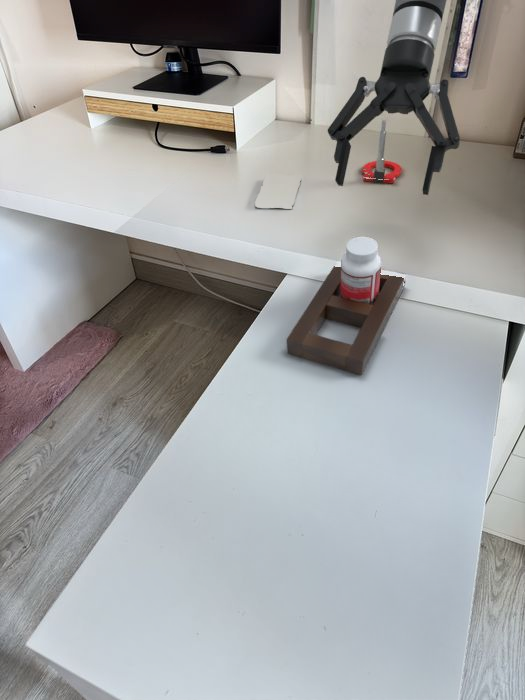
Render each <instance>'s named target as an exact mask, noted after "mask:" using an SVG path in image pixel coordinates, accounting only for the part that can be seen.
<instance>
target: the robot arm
mask: <svg viewBox="0 0 525 700" xmlns="http://www.w3.org/2000/svg"><path fill="white" fill-rule="evenodd" d="M447 1H448V0H395V3H394V4H395V5H394V7H393V13H392V18H391V23H390V26H389V30H388V37H387V41H386V48H385V50H384V56H383V59H382V66H381V69H380V74H379V77H378V79H377V80H376V81H373V80H367V79H366V77H365V76H360V77H359V78H358V80H357V84H356V87H355V90H354V92H353V93H352V94H351V96H350V97H349V99H348V100H347V101H346V103H345V104H344V106H343V107H342V108H341V110H340V111H339V112H338V114H337V116H336V117H335V119H334V120H333V121H332V123H331V124H330V125H329V127H328V128H327V133H328V136H329V137H330V139H331V140H332V141H336V145H335V150H334V154H333V159H334V162H335V164H338V166H337V169H336V174H335V179H334V181H335V183H336V184H337V186H338V187H343V186H344V183H345V177H346V174H347V173H346V172H347V169H348V164H349V163H348V162H349V159H350V154H351V149H352V145H351V143H350V141H351V140H352V139H354V138H355V137H356V136H357V135H358V134H359V133H360V132H361V131H362V130H363V129H364V128H365V127H367V126H368V125H369V124H370V123H371V122H372V121H374V119H375V118H376V117H379V116H380V115H382V114H383V113H384V112H387V114H398V113H399V114H401V115H409V114H410V113H412V112H413V113H414V114H415V116H416V118H417V119H418V120H419V122H420V124H421V125H422V127H423V128H424V130H425V131H426V133H427V135H428V137H429V138H430V140H431V142H432V143H433V145H431V148H430V152H429V158H428V163H427V167H426V172H425V176H424V180H423V185H422V195H424V196H425V195H426V196H428V195H429V193H430V188H431V183H432V179H433V174H434V173H441V170H442V169H443V168H442V167H443V163H444V159H445V154H446V152H447V151H449V150H452V149H453V150H457V149H459V147H460V140H461V138H460V134H459V130H458V126H457V123H456V119H455V116H454V113H453V110H452V105H451V102H450V99H449V84H450V83H449V80H448V79H446V78H445V79H442V80H441V81H440V82H438V83H437V82H436V83H430V79H431V78H430V77H431V74H432V69H433V64H434V61H435V51H436V49H437V47H438V42H439V41H438V40H439V37H440V31H441V27H442V23H443V18H444V14H445V8H446V5H447ZM372 92H375V95H376V96H375V97H374V98H372V100H371V101H370V102H369V104H368V105H367V106H366V107H365V108H364V109H363V110H362V111H361V112H360V113H358V114H357V116H356V117H354V116H355V114H356V112H357V111H358V110H359V108H360V107H361V106H362V104H363V102H364V100H365V99H366V98H367V97H369V96H370V95H371V93H372ZM430 94H431V95H432V96H433V98H434V100H435V101H438V105H439V109H440V113H441V117H442V120H443V123H444V127H445V130H446V134H447V137H446V138H445V137H444V135H443V133H442V131H441V130H440V128H439V126H438V125H437V124H436V121H435V120H434V118H433V117H432V115H431V113H430V111H429V110H428V108H427V107H426V105H425V103H424V101H425V100H426V98H427V97H428V96H429V95H430ZM353 117H354V118H353ZM352 118H353V119H352Z"/></svg>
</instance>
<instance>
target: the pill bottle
mask: <svg viewBox="0 0 525 700" xmlns="http://www.w3.org/2000/svg"><path fill="white" fill-rule="evenodd" d="M378 251H379V245H378V242H377V241H376V240H375V239H373V238H371V237H368V236H357V237H353V238H351V239H350V240H349V241H348V242H347V243H346V246H345V253H344V254H343V256H342V257H341V284H340V296H339V297H342V298H346V299H350V300H354V301H358V302H362V303H366V304H370V305H374V303H375V301H376V299H377V297H378V295H379V293H380V292H379V284H380V273H381V268H382V259H381V256H380V255H379V252H378Z"/></svg>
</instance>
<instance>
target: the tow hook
mask: <svg viewBox="0 0 525 700" xmlns="http://www.w3.org/2000/svg"><path fill="white" fill-rule="evenodd" d="M386 124H387V120H385V119H383V120H381V128H380V129H381V130H380V131H379V138H378V139H379V141H378V153H377V158H376V160H374V161H370V162H367V163H366V164H364V165H363V167H362V175H363V176H364V177H369V178H370V177H371V178H376V179H366V178H363V177H362V181H363V182H373V183H380V184H381V183H382V184H383V183H386V184H394V183H395V181H396V178H398V177H399V176H400V175H401V174H402V165H399V163H397V162H394V161H391V160H385V159H386V158H385V157H384V156H385V146H386V137H387V131H386ZM385 167H386V168H390V169H392V170H393V171H392V172H391V171H390V172H388V173H386V169H385ZM373 168H374V171H371V170H372V169H373ZM363 169H366V170H363ZM364 172H368V173H367V174H365V173H364ZM368 174H370V175H368ZM378 179H383V180H378ZM384 179H389V180H384Z"/></svg>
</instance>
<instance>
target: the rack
mask: <svg viewBox="0 0 525 700" xmlns="http://www.w3.org/2000/svg"><path fill="white" fill-rule="evenodd" d="M324 279H325V280H324V281H323V282H322V284H321V285H320V287H319V289H318V290H317V291H316V293H315V295H314V296H313V298H312V299H311V301H310V302H309V304H308V306H307V307H306V309H305V310H304V312H303V313H302V315H301V317H299V319H298V321H297V322H296V324H295V326H293V329H292V330H291V332H290V333H289V335H288V336H287V338H286V348H287V354H289V355H293V356H296V357H300V358H303V359H306V360H309V361H312V362H317V363H318V364H319V363H320V364H321V365H326V366H329V367H333V368H336V369H338V370H342V371H345V372H350V373H353V374H356V375H360V376H363V374H364V372H365V370H366V368H367V366H368V364H369V362H370V360H371V357H372V355H373V354H374V352H375V350H376V348H377V345H378V344H379V341H380V340H381V339H380V338H381V337H382V335H383V333H384V331H385V329H386V327H387V324H388V323H389V320H390V318H391V316H392V314H393V311H394V310H395V308H396V306H397V304H398V302H399V300H400V298H401V296H402V294H403V292H404V290H405V286H406V284H405V285H404V286H403V282H404V278H402V277H396V276H389V275H381V274H380V284H379V295H378V297H377V299H376V301H375V303H374V305H370V304H366V303H362V302H358V301H354V300H350V299H346V298H342V297H340V284H341V267H335V266H334V265H333V267H332V268H331V270H330V271H329V273H328V274H327V276H326V278H324ZM402 288H403V289H402ZM326 319H328V320H331V321H334V322H339V323H342V324H346V325H350V326H354V327H357V328H360V330H359V332H358V333H357V335H356V337H355V339H354V340H353V342H352V344H350V343H347V342H342V341H339V340H336V339H333V338H328V337H326V336H321V335H318V333H319V331H320V330H321V328H322V326H323V325H324V323H325V321H326Z"/></svg>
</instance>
